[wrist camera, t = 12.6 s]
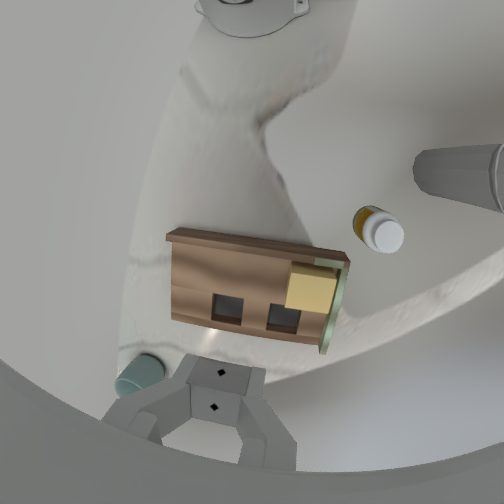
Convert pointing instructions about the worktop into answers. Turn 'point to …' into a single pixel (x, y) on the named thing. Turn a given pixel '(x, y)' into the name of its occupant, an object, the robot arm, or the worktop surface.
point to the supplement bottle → (378, 229)
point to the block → (310, 287)
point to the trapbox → (248, 286)
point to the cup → (139, 375)
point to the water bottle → (464, 174)
